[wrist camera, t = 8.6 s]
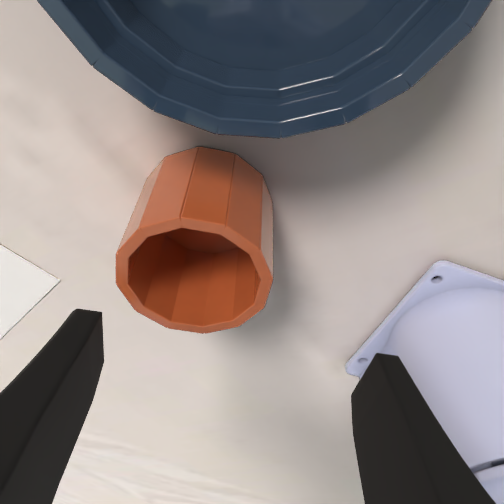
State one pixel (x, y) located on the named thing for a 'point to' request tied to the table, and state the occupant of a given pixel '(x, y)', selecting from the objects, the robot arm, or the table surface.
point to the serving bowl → (264, 55)
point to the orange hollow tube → (199, 243)
